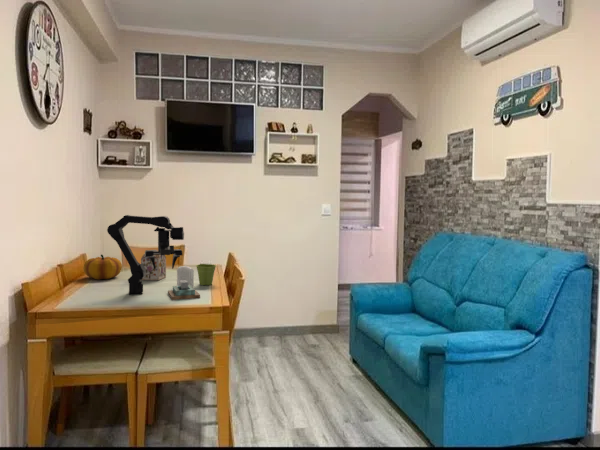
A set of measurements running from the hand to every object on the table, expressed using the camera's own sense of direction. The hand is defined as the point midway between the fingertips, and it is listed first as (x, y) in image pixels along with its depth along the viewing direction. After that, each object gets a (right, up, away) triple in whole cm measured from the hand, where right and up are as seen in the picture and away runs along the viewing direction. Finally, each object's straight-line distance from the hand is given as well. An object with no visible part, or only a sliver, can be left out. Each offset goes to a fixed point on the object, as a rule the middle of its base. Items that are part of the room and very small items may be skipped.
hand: (163, 269), depth 240 cm
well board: (+12, -14, -4) cm, 18 cm away
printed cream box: (+7, -12, +16) cm, 22 cm away
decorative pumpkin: (-50, -10, +41) cm, 66 cm away
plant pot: (+17, -12, +27) cm, 34 cm away
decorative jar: (-19, -10, +42) cm, 47 cm away
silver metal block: (+12, -12, -4) cm, 17 cm away
